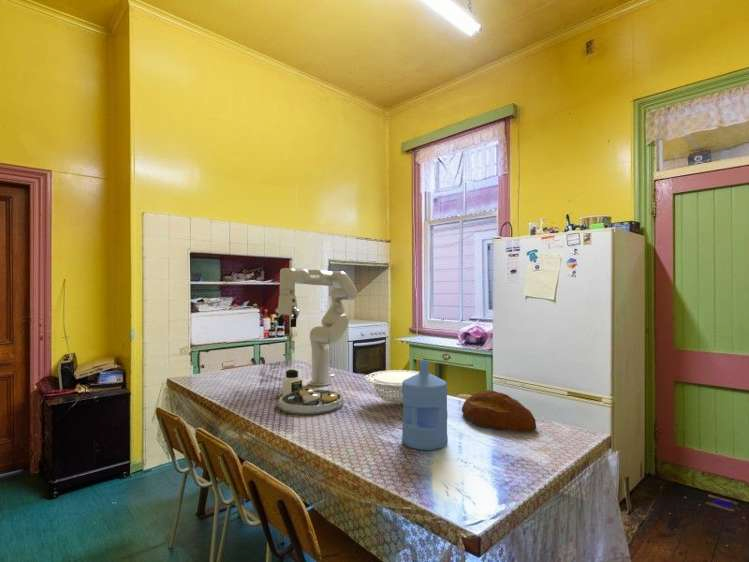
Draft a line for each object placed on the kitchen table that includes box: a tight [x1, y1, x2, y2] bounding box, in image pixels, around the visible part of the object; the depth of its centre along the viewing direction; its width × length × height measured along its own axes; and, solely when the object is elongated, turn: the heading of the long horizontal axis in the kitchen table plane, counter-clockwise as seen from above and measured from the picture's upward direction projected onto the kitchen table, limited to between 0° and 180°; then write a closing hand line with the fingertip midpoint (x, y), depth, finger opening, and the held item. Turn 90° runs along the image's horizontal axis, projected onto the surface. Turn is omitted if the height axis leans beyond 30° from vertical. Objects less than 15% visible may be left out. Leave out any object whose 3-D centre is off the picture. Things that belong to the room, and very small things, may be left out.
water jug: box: [401, 360, 449, 451], centre depth 144 cm, size 16×16×28 cm
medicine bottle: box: [281, 368, 303, 396], centre depth 209 cm, size 7×7×12 cm
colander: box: [363, 369, 420, 406], centre depth 189 cm, size 32×32×13 cm
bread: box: [461, 389, 537, 432], centre depth 165 cm, size 21×33×12 cm, turn 36°
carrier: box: [278, 387, 344, 416], centre depth 189 cm, size 29×29×6 cm
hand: (286, 326), depth 211 cm, fingers open, 9 cm apart
